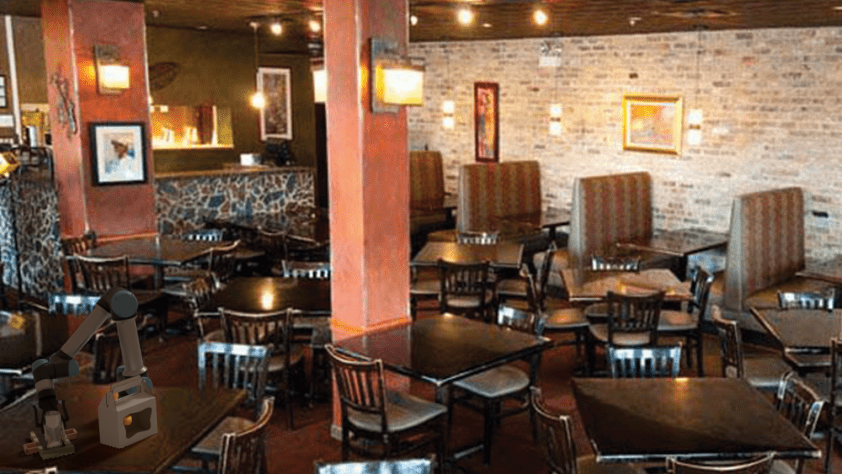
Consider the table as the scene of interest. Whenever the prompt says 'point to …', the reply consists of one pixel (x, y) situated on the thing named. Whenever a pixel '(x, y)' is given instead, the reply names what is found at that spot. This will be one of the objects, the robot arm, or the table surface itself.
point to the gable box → (134, 404)
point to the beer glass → (53, 428)
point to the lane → (53, 452)
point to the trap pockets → (32, 448)
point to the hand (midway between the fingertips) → (55, 437)
